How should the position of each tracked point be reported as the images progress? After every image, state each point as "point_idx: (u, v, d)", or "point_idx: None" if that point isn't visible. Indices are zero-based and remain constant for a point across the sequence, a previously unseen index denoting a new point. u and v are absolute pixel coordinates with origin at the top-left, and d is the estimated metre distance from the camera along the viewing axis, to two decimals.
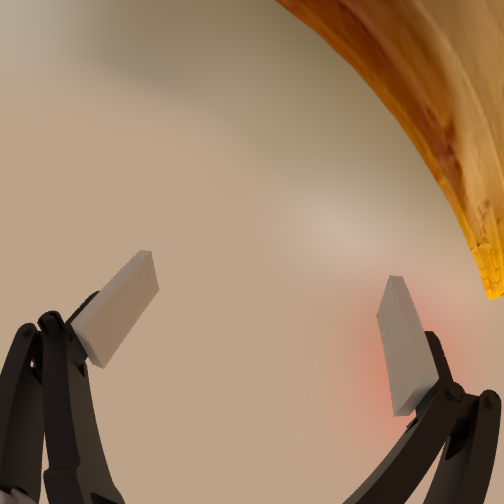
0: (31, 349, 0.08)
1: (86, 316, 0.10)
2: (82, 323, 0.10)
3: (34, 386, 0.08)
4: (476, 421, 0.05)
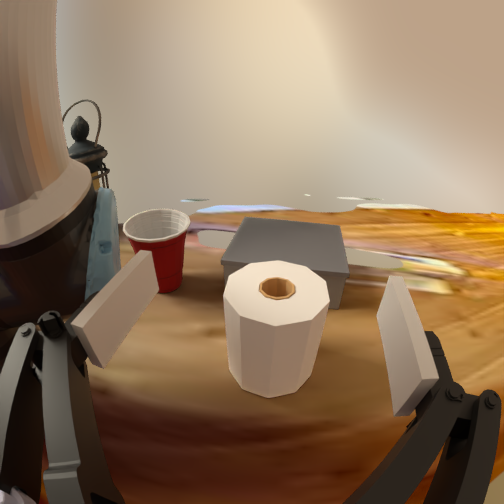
0: (31, 349, 0.08)
1: (86, 316, 0.10)
2: (82, 323, 0.10)
3: (34, 386, 0.08)
4: (476, 421, 0.05)
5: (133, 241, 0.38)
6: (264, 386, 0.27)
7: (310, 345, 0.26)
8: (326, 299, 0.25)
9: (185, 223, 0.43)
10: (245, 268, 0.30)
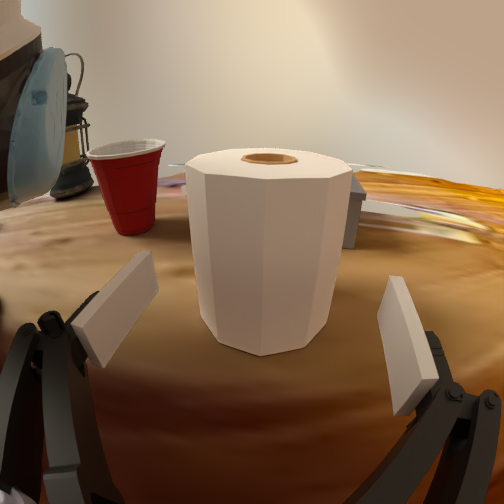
0: (31, 349, 0.08)
1: (86, 316, 0.10)
2: (82, 323, 0.10)
3: (34, 386, 0.08)
4: (476, 421, 0.05)
5: (95, 163, 0.28)
6: (252, 332, 0.17)
7: (328, 247, 0.16)
8: (346, 168, 0.15)
9: None
10: (224, 151, 0.20)
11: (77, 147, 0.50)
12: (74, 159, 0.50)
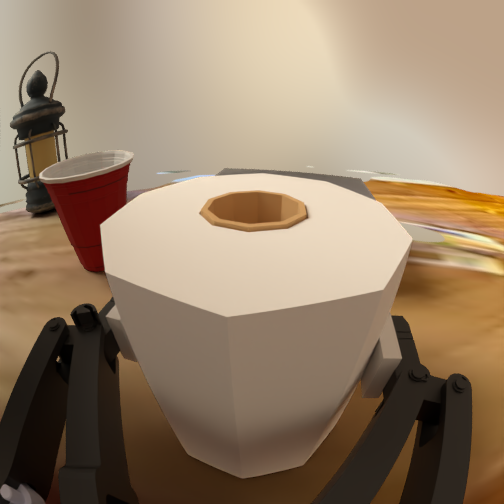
0: (58, 345, 0.09)
1: None
2: (118, 315, 0.10)
3: (57, 383, 0.08)
4: (445, 407, 0.06)
5: (47, 186, 0.21)
6: (229, 464, 0.10)
7: (354, 378, 0.08)
8: (401, 235, 0.08)
9: None
10: (185, 183, 0.12)
11: (53, 156, 0.43)
12: None
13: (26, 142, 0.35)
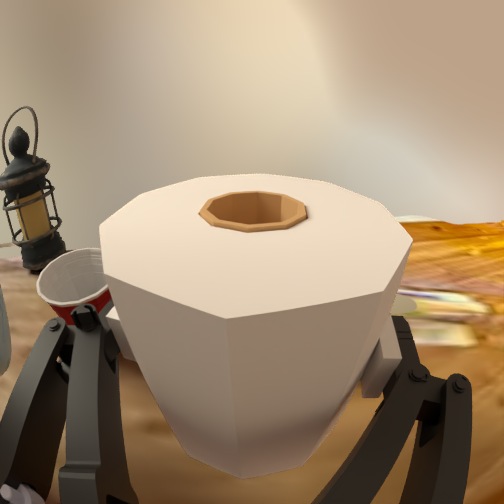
0: (58, 345, 0.09)
1: None
2: None
3: (58, 383, 0.08)
4: (445, 407, 0.06)
5: None
6: (228, 465, 0.10)
7: (354, 379, 0.08)
8: (402, 235, 0.08)
9: None
10: (184, 183, 0.12)
11: (43, 215, 0.45)
12: (42, 230, 0.45)
13: (15, 207, 0.37)
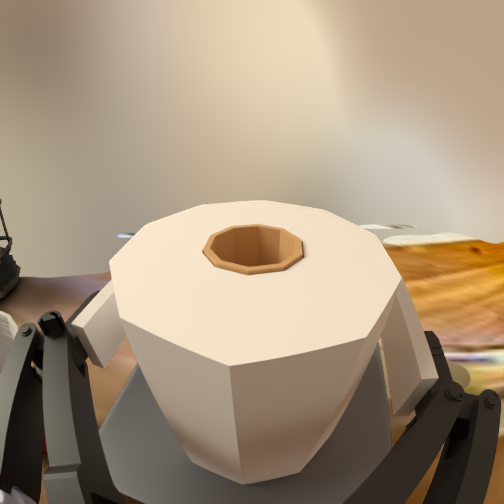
0: (31, 349, 0.08)
1: (87, 316, 0.10)
2: (83, 323, 0.10)
3: (34, 386, 0.08)
4: (476, 421, 0.05)
5: None
6: (230, 472, 0.10)
7: (343, 400, 0.09)
8: (391, 274, 0.08)
9: None
10: (187, 212, 0.13)
11: None
12: None
13: None
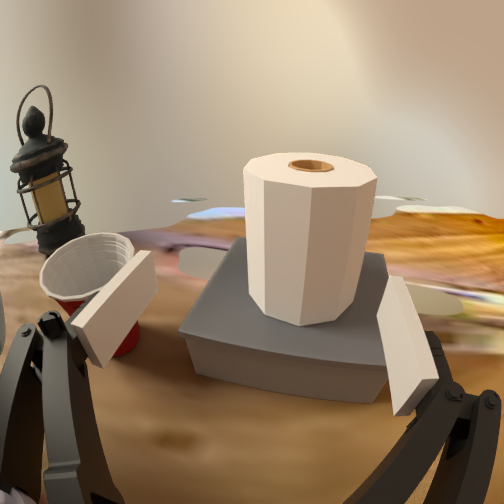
0: (31, 349, 0.08)
1: (86, 316, 0.10)
2: (82, 323, 0.10)
3: (34, 386, 0.08)
4: (476, 421, 0.05)
5: None
6: (294, 305, 0.22)
7: (356, 239, 0.19)
8: (372, 176, 0.18)
9: None
10: (271, 155, 0.24)
11: (60, 198, 0.44)
12: (59, 213, 0.44)
13: (29, 189, 0.36)
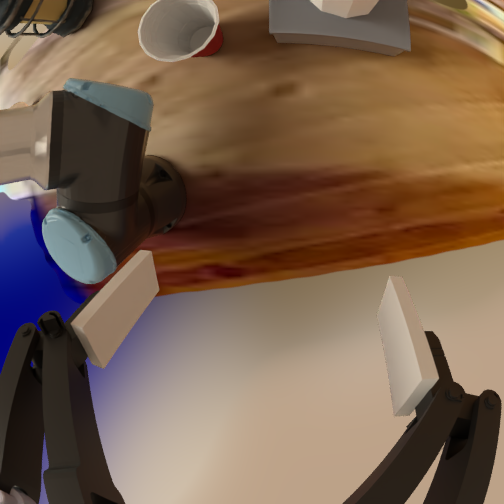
0: (31, 349, 0.08)
1: (86, 316, 0.10)
2: (82, 323, 0.10)
3: (34, 386, 0.08)
4: (476, 421, 0.05)
5: None
6: (343, 11, 0.22)
7: None
8: None
9: (208, 4, 0.23)
10: None
11: None
12: (62, 3, 0.23)
13: (29, 24, 0.20)
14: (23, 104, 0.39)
